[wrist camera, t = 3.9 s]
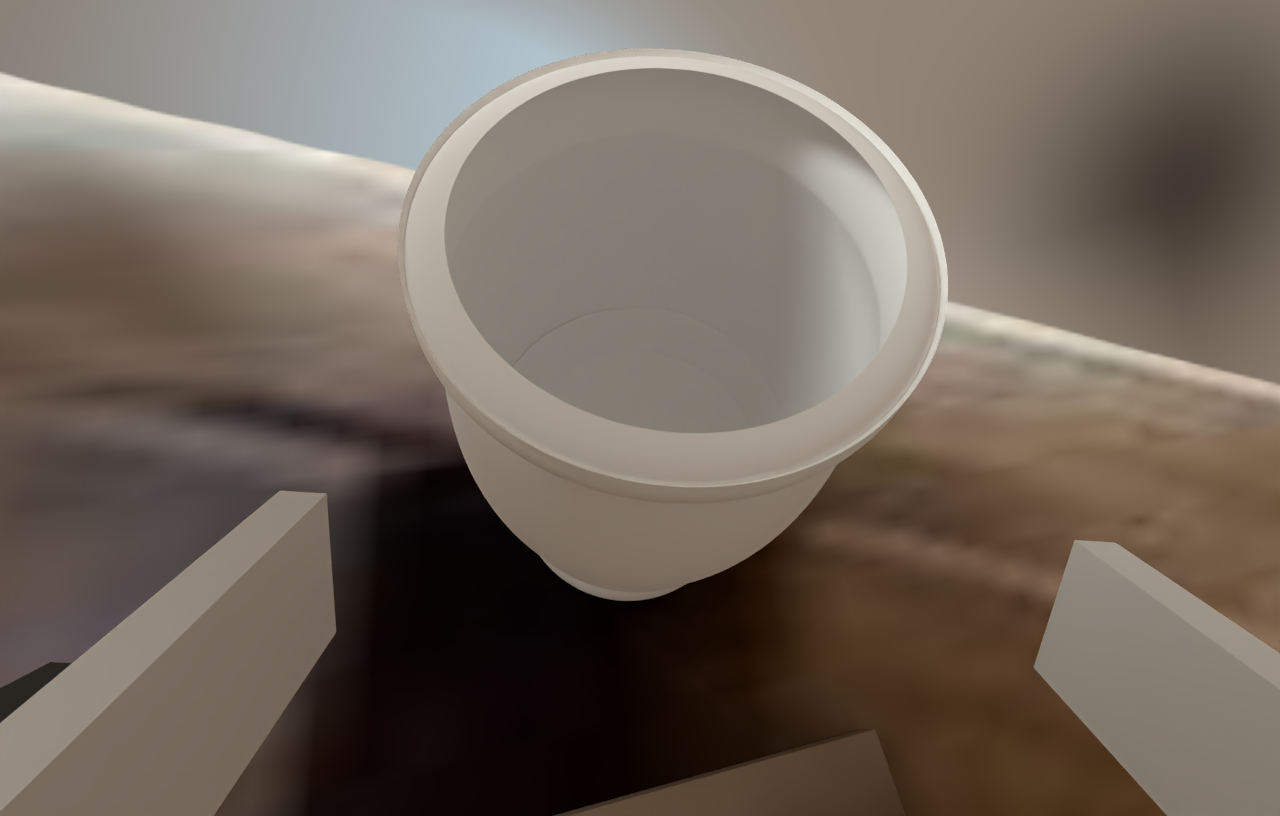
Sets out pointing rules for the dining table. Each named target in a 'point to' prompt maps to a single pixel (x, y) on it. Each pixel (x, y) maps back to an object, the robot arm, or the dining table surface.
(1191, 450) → the dining table surface
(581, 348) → the jar
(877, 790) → the walnut board
